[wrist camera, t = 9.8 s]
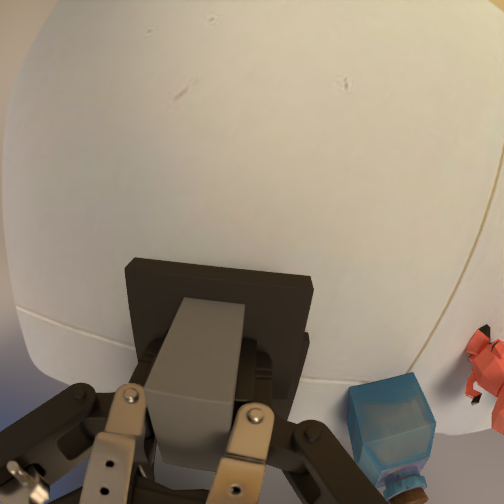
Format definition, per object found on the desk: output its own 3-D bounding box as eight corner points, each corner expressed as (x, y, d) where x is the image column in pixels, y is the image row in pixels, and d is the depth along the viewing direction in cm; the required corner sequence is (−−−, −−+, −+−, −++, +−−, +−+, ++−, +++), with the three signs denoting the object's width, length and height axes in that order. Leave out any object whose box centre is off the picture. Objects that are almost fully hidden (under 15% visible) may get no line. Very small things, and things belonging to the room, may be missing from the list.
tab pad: (155, 403, 17) (127, 484, 11) (134, 256, 13) (57, 343, 7) (277, 419, 17) (277, 508, 11) (310, 275, 13) (338, 386, 7)
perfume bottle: (347, 424, 26) (364, 525, 15) (349, 387, 24) (375, 507, 12) (403, 410, 25) (433, 505, 14) (413, 372, 23) (458, 479, 12)
